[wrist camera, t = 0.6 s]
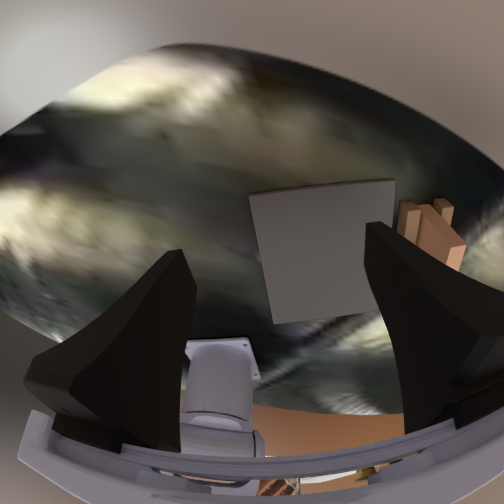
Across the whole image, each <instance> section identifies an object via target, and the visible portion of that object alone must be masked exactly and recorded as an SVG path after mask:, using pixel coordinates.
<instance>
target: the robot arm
mask: <svg viewBox="0 0 504 504" xmlns="http://www.w3.org/2000/svg"><path fill="white" fill-rule="evenodd" d="M364 268H365V272H366V275H367V279H368V282H369V285H370V288H371V291H372V293H373V295H374V298H375V300H376V303H377V305H378V307H379V310H380V312H381V315H382V317H383V320H384V322H385V325H386V327H387V330H388V333H389V336H390V339H391V342H392V346H393V350H394V355H395V359H396V364H397V369H398V374H399V380H400V386H401V394H402V402H403V412H404V427H405V435H403V436H399V437H395V438H392V439H388V440H384V441H380V442H376V443H372V444H368V445H363V446H358V447H353V448H347V449H341V450H335V451H328V452H321V453H313V454H304V455H294V456H277V457H265V443H264V439H263V437H262V436H261V434H260V433H259V432H258V431H257V430H253V422H250V421H251V418H252V402H253V380H259V379H260V378H261V375H260V372H259V369H258V366H257V363H256V360H255V357H254V354H253V351H252V348H251V345H250V341H249V339H248V338H245V337H242V338H227V339H207V340H188V336H189V332H190V328H191V324H192V319H193V315H194V311H195V304H196V294H197V285H196V283H195V281H194V278H193V276H192V274H191V271H190V269H189V266H188V264H187V261H186V259H185V256H184V254H183V251H182V249H178V250H172V251H167V252H166V253H165V254H164V255H163V256H162V257H161V258H160V259H159V260H158V261H157V262H156V263H155V264H154V265H153V266H152V267H151V268H150V269H149V270H148V271H147V272H146V273H145V274H144V275H143V276H142V277H141V278H140V279H139V280H138V281H137V282H136V283H135V284H134V285H133V286H132V287H131V288H130V289H129V290H128V291H127V292H126V293H125V294H124V295H123V296H122V297H121V298H120V299H119V300H118V301H117V302H115V303H114V304H113V305H112V306H111V307H110V308H109V309H107V310H106V311H105V312H104V313H103V314H102V315H100V316H99V317H98V318H97V319H95V320H94V321H92V322H91V323H90V324H88V325H87V326H86V327H84V328H83V329H82V330H80V331H79V332H77V333H76V334H74V335H73V336H71V337H70V338H68V339H66V340H65V341H63V342H61V343H60V344H58V345H56V346H54V347H52V348H50V349H48V350H47V351H45V352H43V353H41V354H39V355H37V356H35V357H34V358H33V360H32V362H31V364H30V366H29V368H28V370H27V373H26V375H25V377H24V379H23V383H24V386H25V387H26V389H27V390H28V391H29V392H30V393H31V394H33V395H34V396H35V397H36V398H37V399H39V400H40V401H41V402H43V403H44V404H45V405H46V406H48V407H49V408H50V409H52V410H53V411H54V412H56V417H55V419H54V418H52V417H50V416H48V415H46V414H43V413H41V412H38V411H36V410H32V411H31V414H30V417H29V419H28V422H27V425H26V429H25V431H24V434H23V438H22V441H21V444H20V448H19V451H18V455H17V458H18V459H19V460H20V461H22V462H23V463H25V464H26V465H28V466H29V467H31V468H32V469H34V470H35V471H37V472H38V473H40V474H41V475H43V476H44V477H46V478H47V479H49V480H50V481H52V482H53V483H55V484H56V485H58V486H59V487H61V488H62V489H64V490H65V491H67V492H69V493H70V494H72V495H74V496H75V497H77V498H79V499H81V500H83V501H85V502H86V503H88V504H454V503H456V502H458V501H460V500H461V499H463V498H465V497H467V496H468V495H470V494H472V493H473V492H475V491H477V490H478V489H480V488H481V487H483V486H485V485H486V484H488V483H489V482H491V481H492V480H493V479H495V478H496V477H498V476H499V475H501V474H502V473H503V472H504V292H502V291H500V290H497V289H494V288H492V287H490V286H487V285H485V284H482V283H480V282H478V281H476V280H474V279H472V278H470V277H468V276H466V275H464V274H462V273H460V272H458V271H456V270H455V269H453V268H451V267H449V266H447V265H446V264H444V263H442V262H441V261H439V260H437V259H436V258H434V257H433V256H431V255H430V254H428V253H427V252H425V251H424V250H422V249H421V248H419V247H418V246H416V245H415V244H413V243H412V242H410V241H409V240H408V239H406V238H405V237H403V236H402V235H401V234H399V233H398V232H396V231H395V230H393V229H392V228H391V227H389V226H388V225H386V224H384V223H383V222H381V221H377V222H369V223H366V230H365V251H364ZM185 353H186V354H187V356H188V358H189V359H190V361H191V363H190V368H189V373H188V379H187V384H186V390H185V396H184V401H183V407H182V412H180V389H181V376H182V366H183V359H184V354H185ZM415 454H417V455H415ZM412 455H415V456H412ZM409 456H412V457H410V458H408V459H405V460H402V461H399V462H396V463H393V464H391V465H388V466H385V467H381V468H380V469H379V472H377V473H375V474H373V475H370V476H369V477H368V478H367V479H368V485H366V486H361V487H355V488H350V489H344V490H337V491H330V492H322V493H312V494H301V495H284V496H255V495H256V494H257V491H258V490H259V483H260V480H275V479H293V478H305V477H315V476H323V475H330V474H337V473H343V472H349V471H354V470H359V469H364V468H368V467H373V466H377V465H381V464H385V463H389V462H392V461H396V460H399V459H403V458H406V457H409ZM179 474H181V475H186V476H192V477H199V478H206V479H214V480H223V481H235V483H218V482H209V481H202V480H195V479H189V478H185V477H182V476H180V475H179Z"/></svg>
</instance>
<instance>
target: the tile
mask: <svg viewBox="0 0 504 504" xmlns="http://www.w3.org/2000/svg"><path fill="white" fill-rule="evenodd" d="M417 206H418V207H419V208H420V209H421V213H420V220H419V227H418V233H417V239H416V244H415V245H416V246H418V247H419V248H421V249H422V250H424V251H425V252H427V253H428V254H430V255H431V256H433V257H434V258H436V259H437V260H439V261H441V262H442V263H444V264H446V265H447V266H449V267H451V268H453V269H455V270H456V271H458V270H459V267H460V264H461V261H462V258H463V255H464V251H465V248H466V244H465V243H464V242H463V240H462V239H461V238H460V237H459V236H458V235H457V233H456V232H455V231H454V230H453V229H452V228H451V227H450V225H449V224H448V223H447V222H446V221H445V220H444V219H443V218H442V217H441V216H440V215H439V214H438V213H437V211H436V210H435V209H434V208H433V207H432V206H431V205H430V204H425V205H417Z"/></svg>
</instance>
